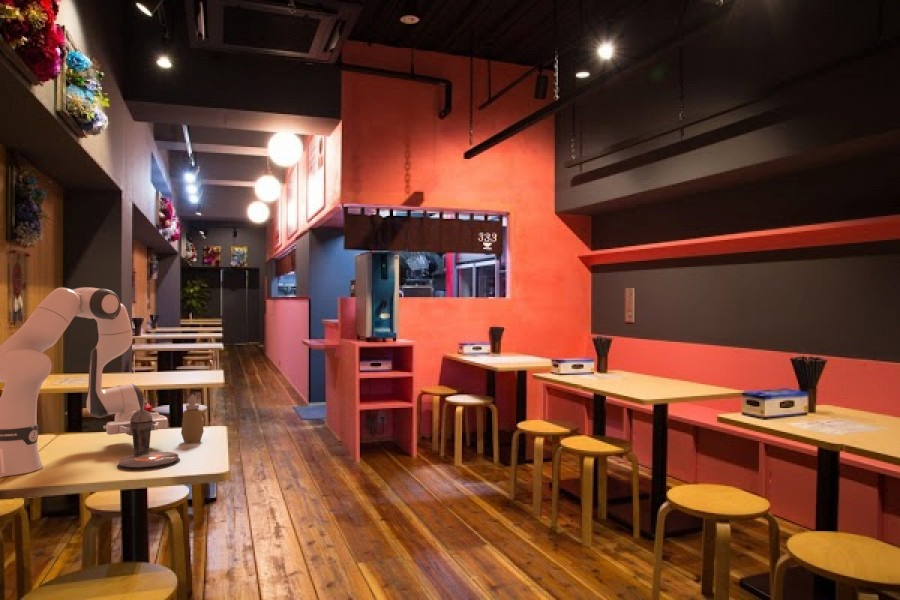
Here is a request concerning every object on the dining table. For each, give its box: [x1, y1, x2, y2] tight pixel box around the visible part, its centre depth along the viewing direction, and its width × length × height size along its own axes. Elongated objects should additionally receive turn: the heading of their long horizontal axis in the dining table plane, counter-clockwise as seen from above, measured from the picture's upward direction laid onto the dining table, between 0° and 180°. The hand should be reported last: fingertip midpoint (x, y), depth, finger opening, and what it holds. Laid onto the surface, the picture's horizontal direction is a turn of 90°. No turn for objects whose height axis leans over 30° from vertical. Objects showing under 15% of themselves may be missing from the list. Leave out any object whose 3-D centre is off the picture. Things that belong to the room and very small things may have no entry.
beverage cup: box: [130, 396, 153, 454], centre depth 224 cm, size 7×7×20 cm
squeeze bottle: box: [180, 394, 205, 444], centre depth 244 cm, size 8×8×18 cm
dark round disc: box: [118, 451, 179, 469], centre depth 211 cm, size 18×18×1 cm
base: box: [116, 457, 181, 472], centre depth 211 cm, size 19×19×1 cm
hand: (141, 428), depth 224 cm, fingers open, 8 cm apart
